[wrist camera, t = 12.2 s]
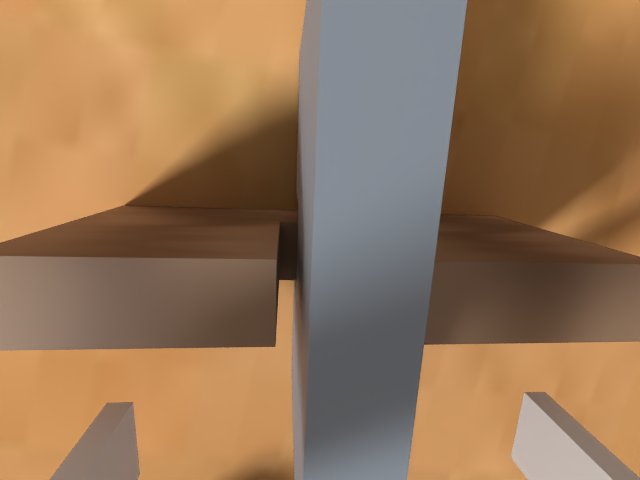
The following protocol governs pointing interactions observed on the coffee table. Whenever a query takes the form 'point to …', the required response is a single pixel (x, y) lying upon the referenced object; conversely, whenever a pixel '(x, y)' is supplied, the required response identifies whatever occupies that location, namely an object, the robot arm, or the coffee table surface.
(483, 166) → the coffee table surface
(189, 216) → the walnut slotted upright
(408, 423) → the grey slotted plate
